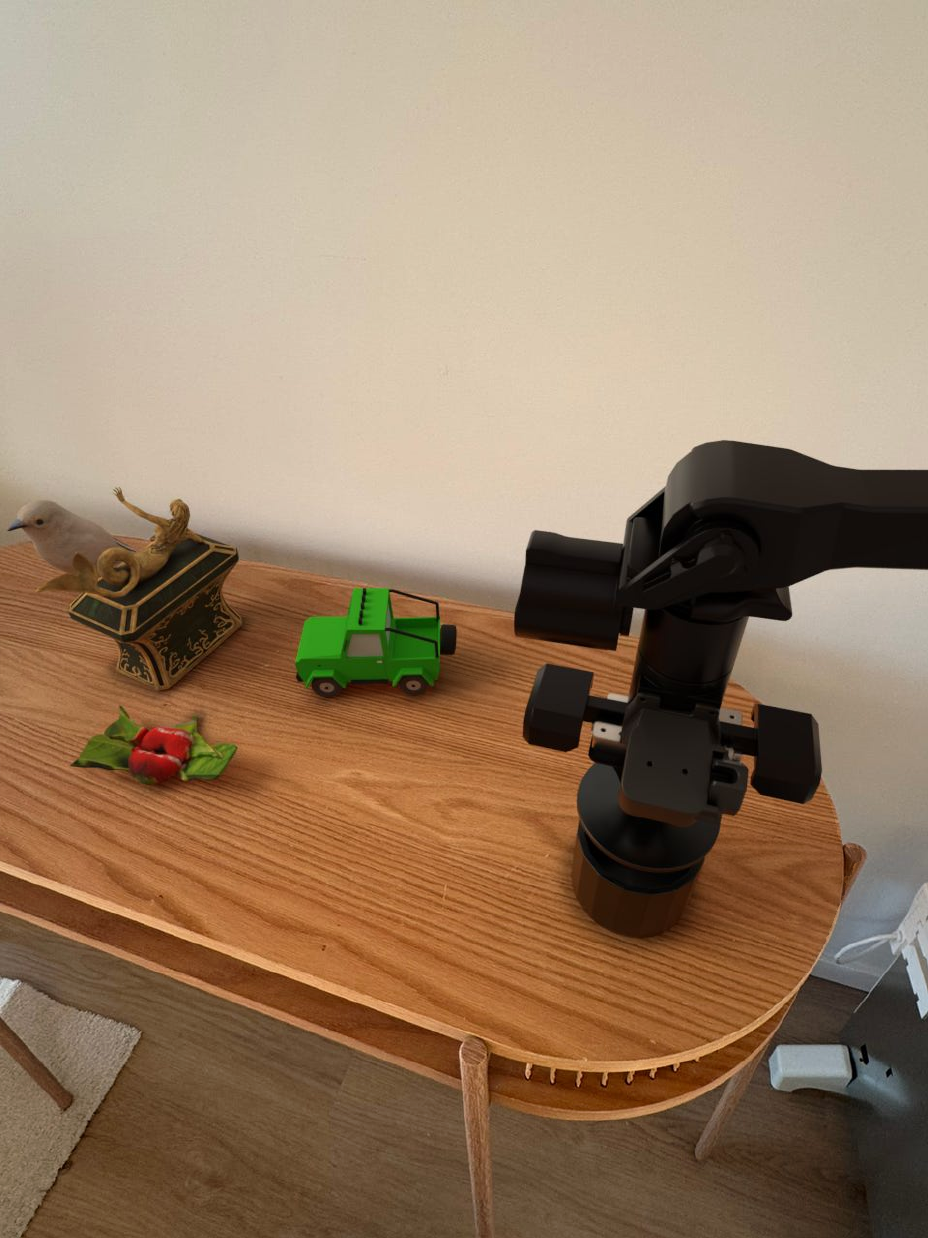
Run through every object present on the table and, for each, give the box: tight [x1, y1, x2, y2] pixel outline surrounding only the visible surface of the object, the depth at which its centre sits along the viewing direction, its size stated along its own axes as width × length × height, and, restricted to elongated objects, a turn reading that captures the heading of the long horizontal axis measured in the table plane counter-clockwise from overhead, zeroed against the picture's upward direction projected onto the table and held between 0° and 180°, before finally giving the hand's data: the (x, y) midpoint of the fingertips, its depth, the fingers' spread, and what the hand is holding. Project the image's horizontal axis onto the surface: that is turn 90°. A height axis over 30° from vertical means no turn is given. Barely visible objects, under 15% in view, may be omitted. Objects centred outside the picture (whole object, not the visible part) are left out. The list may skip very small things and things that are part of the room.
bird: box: [6, 499, 138, 579], centre depth 89 cm, size 5×14×15 cm, turn 145°
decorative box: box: [35, 486, 243, 692], centre depth 78 cm, size 20×10×20 cm, turn 151°
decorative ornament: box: [70, 705, 238, 787], centre depth 72 cm, size 15×5×10 cm
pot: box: [570, 818, 706, 939], centre depth 60 cm, size 10×10×7 cm
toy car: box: [294, 587, 458, 698], centre depth 78 cm, size 8×17×10 cm, turn 91°
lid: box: [576, 762, 722, 873], centre depth 54 cm, size 11×11×5 cm
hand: (648, 800), depth 55 cm, fingers closed on lid, 2 cm apart
